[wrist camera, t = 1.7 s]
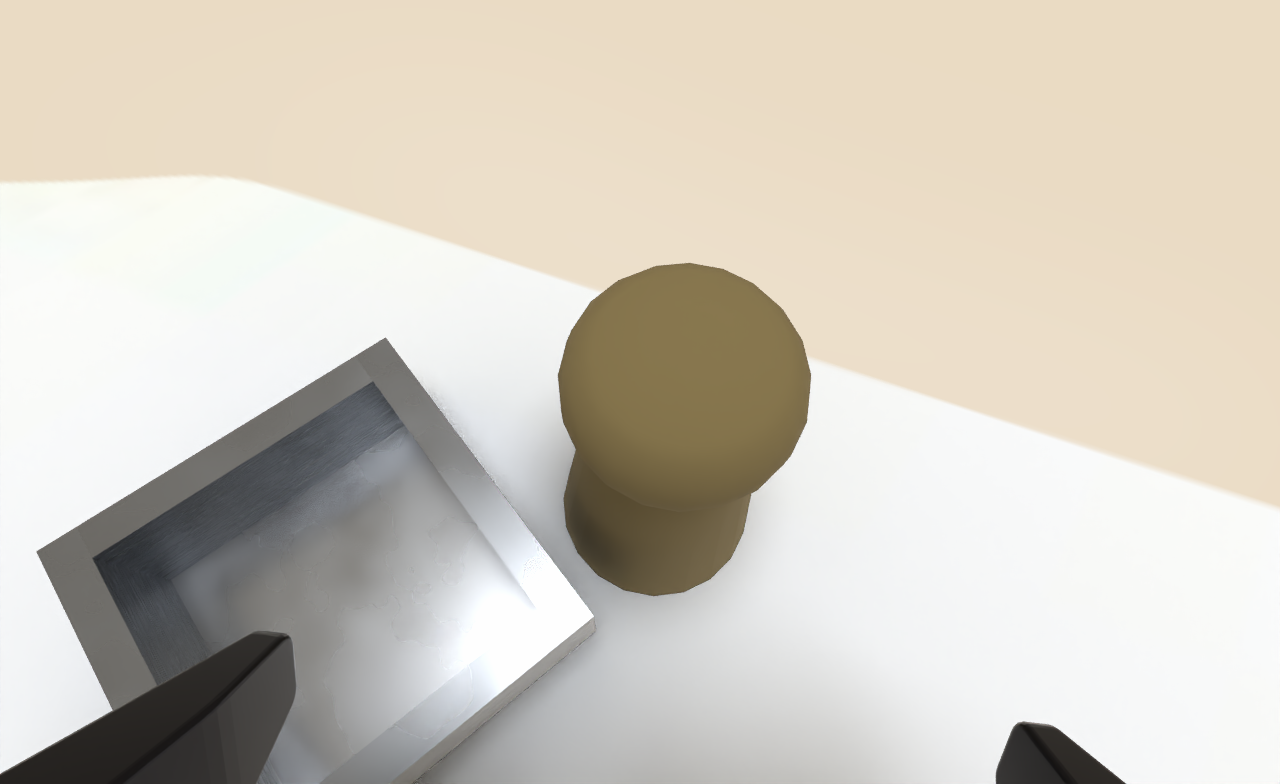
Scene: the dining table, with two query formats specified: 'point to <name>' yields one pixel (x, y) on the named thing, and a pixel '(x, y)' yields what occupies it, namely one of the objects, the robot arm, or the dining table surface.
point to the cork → (676, 421)
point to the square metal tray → (330, 577)
